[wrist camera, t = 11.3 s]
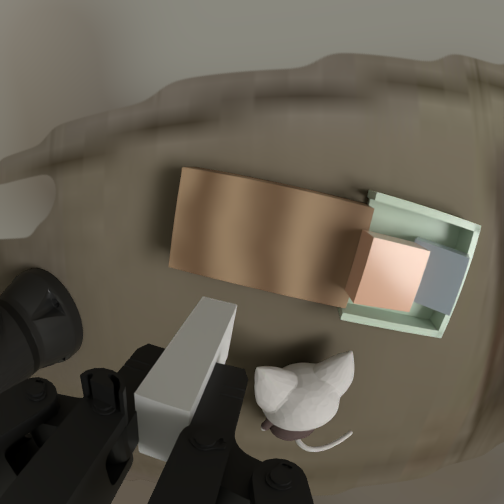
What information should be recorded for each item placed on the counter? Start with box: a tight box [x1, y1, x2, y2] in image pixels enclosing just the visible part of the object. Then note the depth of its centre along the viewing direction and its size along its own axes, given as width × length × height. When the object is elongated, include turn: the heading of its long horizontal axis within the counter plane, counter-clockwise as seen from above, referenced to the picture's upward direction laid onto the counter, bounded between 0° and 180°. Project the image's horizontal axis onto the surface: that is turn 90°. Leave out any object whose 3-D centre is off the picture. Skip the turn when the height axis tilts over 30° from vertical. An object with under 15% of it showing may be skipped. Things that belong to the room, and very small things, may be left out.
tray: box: [338, 190, 481, 338], centre depth 30 cm, size 12×13×4 cm
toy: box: [254, 351, 354, 452], centre depth 34 cm, size 13×9×15 cm
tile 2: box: [345, 229, 431, 312], centre depth 27 cm, size 6×6×3 cm
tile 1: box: [413, 237, 470, 316], centre depth 28 cm, size 6×6×3 cm
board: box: [169, 167, 374, 309], centre depth 31 cm, size 18×10×4 cm, turn 79°
